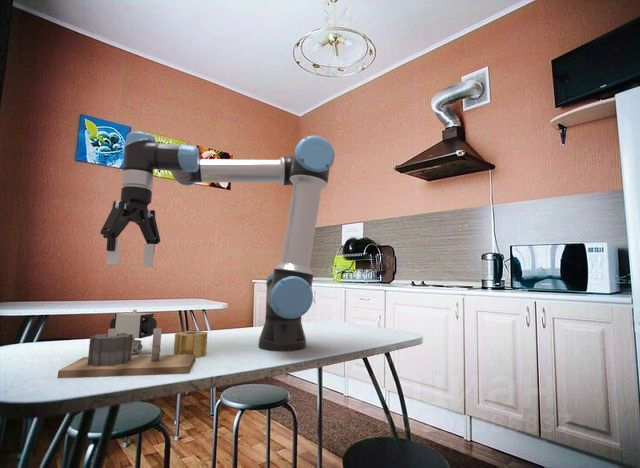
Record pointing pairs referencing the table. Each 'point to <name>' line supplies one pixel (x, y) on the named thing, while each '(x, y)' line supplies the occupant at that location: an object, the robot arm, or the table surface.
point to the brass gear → (190, 343)
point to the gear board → (125, 358)
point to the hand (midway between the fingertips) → (131, 265)
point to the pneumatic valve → (134, 326)
